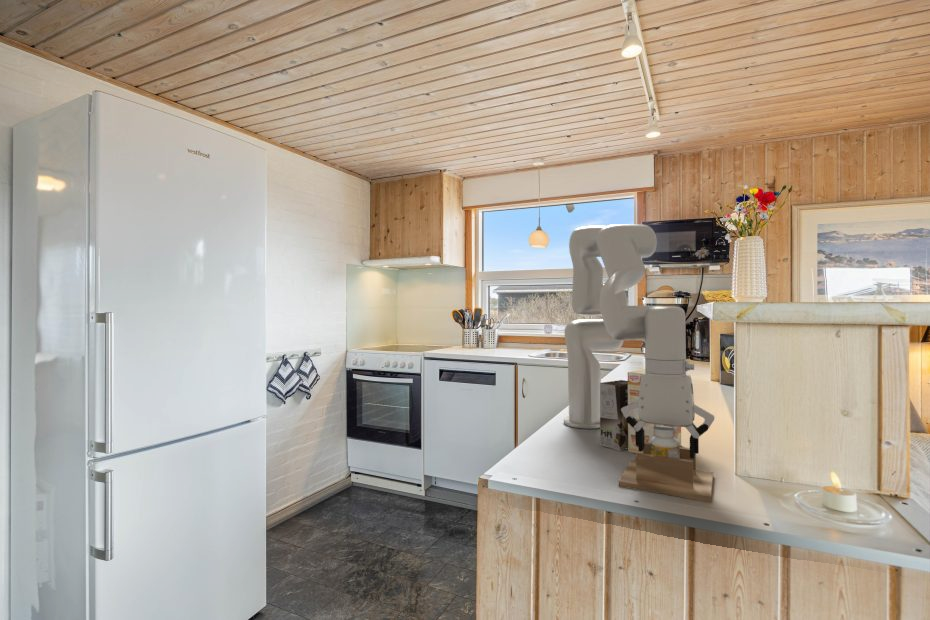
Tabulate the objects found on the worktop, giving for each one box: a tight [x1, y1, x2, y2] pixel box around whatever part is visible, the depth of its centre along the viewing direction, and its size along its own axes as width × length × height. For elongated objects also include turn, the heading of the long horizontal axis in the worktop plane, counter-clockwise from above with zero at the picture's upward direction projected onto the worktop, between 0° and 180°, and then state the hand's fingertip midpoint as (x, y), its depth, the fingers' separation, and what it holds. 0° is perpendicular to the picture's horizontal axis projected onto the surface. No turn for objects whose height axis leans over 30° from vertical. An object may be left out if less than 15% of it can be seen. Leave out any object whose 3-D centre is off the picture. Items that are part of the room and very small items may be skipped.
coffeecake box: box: [627, 368, 682, 455], centre depth 113 cm, size 15×7×20 cm, turn 132°
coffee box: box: [599, 379, 628, 452], centre depth 117 cm, size 9×6×16 cm
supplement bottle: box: [650, 426, 680, 459], centre depth 92 cm, size 5×5×10 cm
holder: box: [617, 442, 714, 503], centre depth 92 cm, size 14×16×6 cm
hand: (666, 452), depth 92 cm, fingers open, 9 cm apart
